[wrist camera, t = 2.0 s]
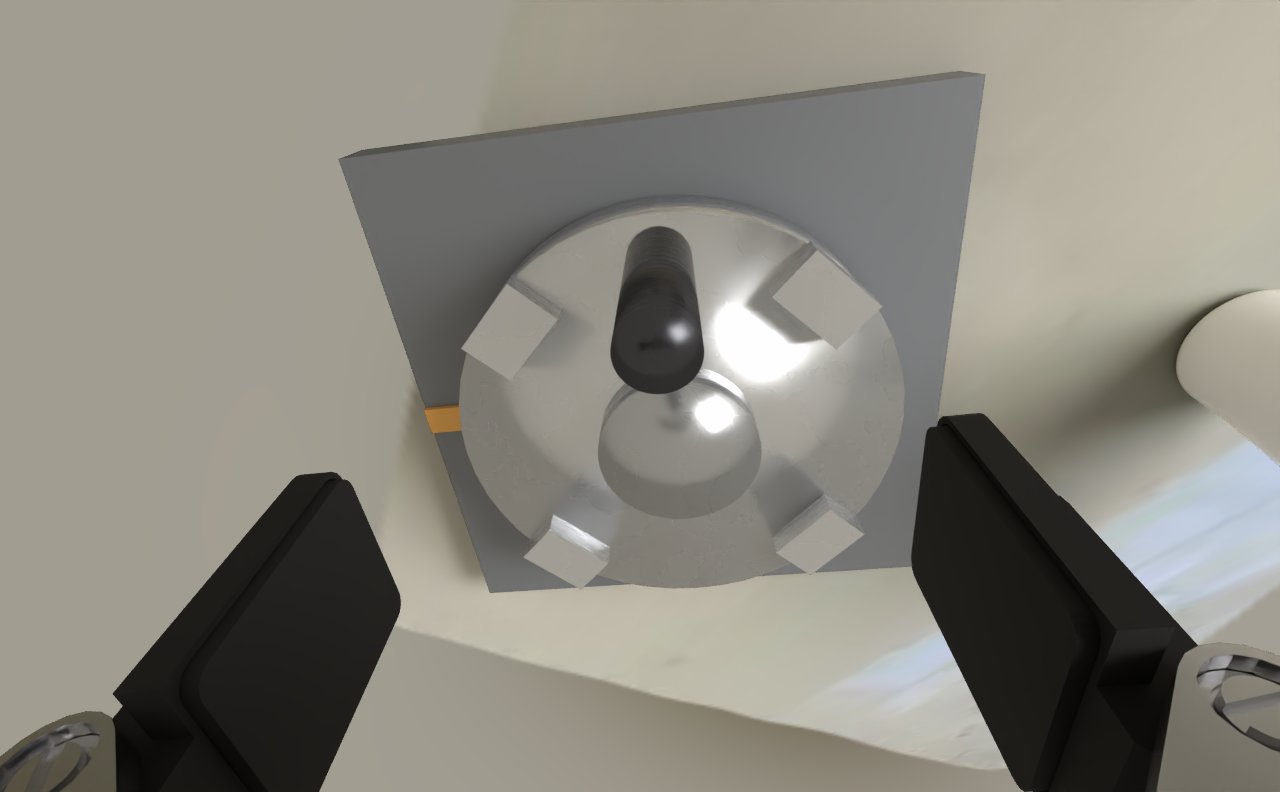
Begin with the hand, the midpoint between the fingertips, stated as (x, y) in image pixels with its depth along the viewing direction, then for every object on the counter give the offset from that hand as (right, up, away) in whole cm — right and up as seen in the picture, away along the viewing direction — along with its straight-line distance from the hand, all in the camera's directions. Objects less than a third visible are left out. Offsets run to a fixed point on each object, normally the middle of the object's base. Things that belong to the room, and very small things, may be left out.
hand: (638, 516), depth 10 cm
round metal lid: (+2, +2, +16) cm, 16 cm away
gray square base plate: (+2, +3, +18) cm, 18 cm away
